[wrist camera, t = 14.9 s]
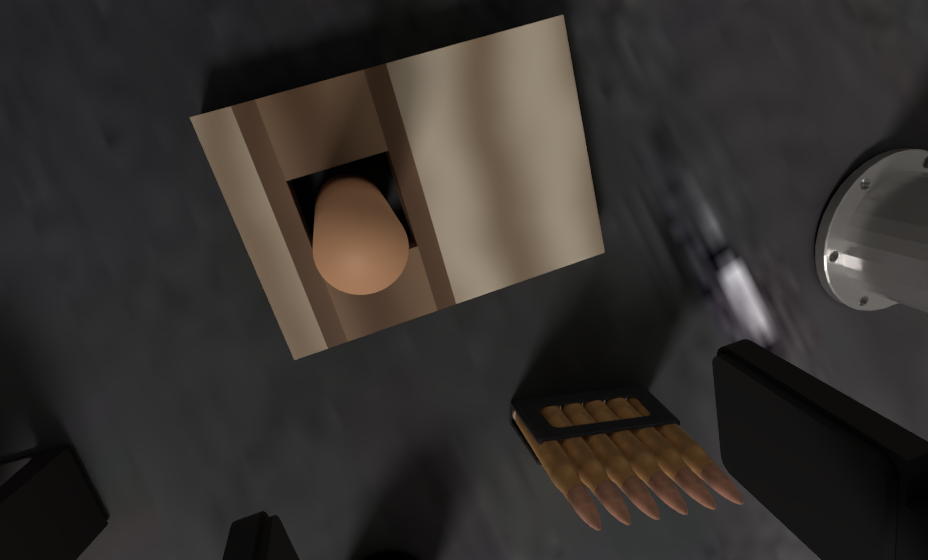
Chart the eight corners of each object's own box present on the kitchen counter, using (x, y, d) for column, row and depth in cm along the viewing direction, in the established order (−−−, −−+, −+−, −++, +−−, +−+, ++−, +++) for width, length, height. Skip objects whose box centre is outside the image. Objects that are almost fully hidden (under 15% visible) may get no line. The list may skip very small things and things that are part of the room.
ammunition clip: (509, 422, 40) (581, 547, 29) (510, 400, 39) (584, 518, 28) (640, 406, 42) (753, 514, 31) (643, 384, 42) (759, 487, 31)
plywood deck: (545, 21, 32) (563, 14, 29) (587, 243, 37) (604, 252, 34) (200, 116, 29) (189, 117, 26) (296, 342, 34) (294, 360, 32)
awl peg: (372, 164, 32) (392, 190, 22) (392, 228, 33) (419, 277, 24) (305, 184, 31) (298, 220, 22) (328, 248, 33) (331, 307, 23)
